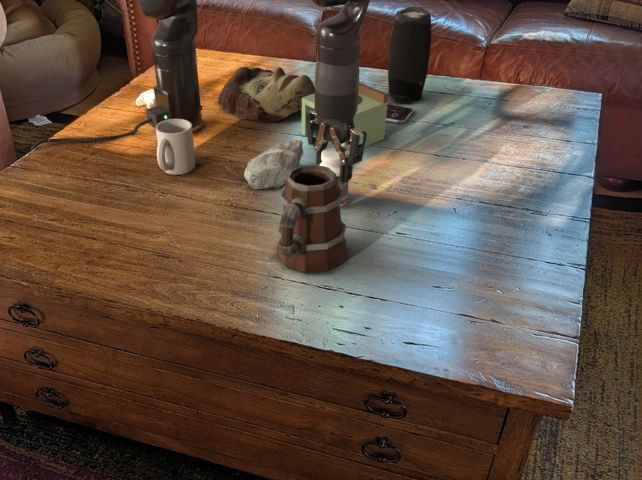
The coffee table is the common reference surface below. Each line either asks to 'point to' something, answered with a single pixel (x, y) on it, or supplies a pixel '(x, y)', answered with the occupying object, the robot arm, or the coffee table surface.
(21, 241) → the coffee table surface
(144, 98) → the astronaut figurine
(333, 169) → the pill bottle
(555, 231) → the coffee table surface
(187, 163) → the cup
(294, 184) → the mug
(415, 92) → the portable speaker
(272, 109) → the sculpture
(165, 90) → the robot arm
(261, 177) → the decorative stone
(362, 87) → the green footstool with circle
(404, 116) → the smartphone
